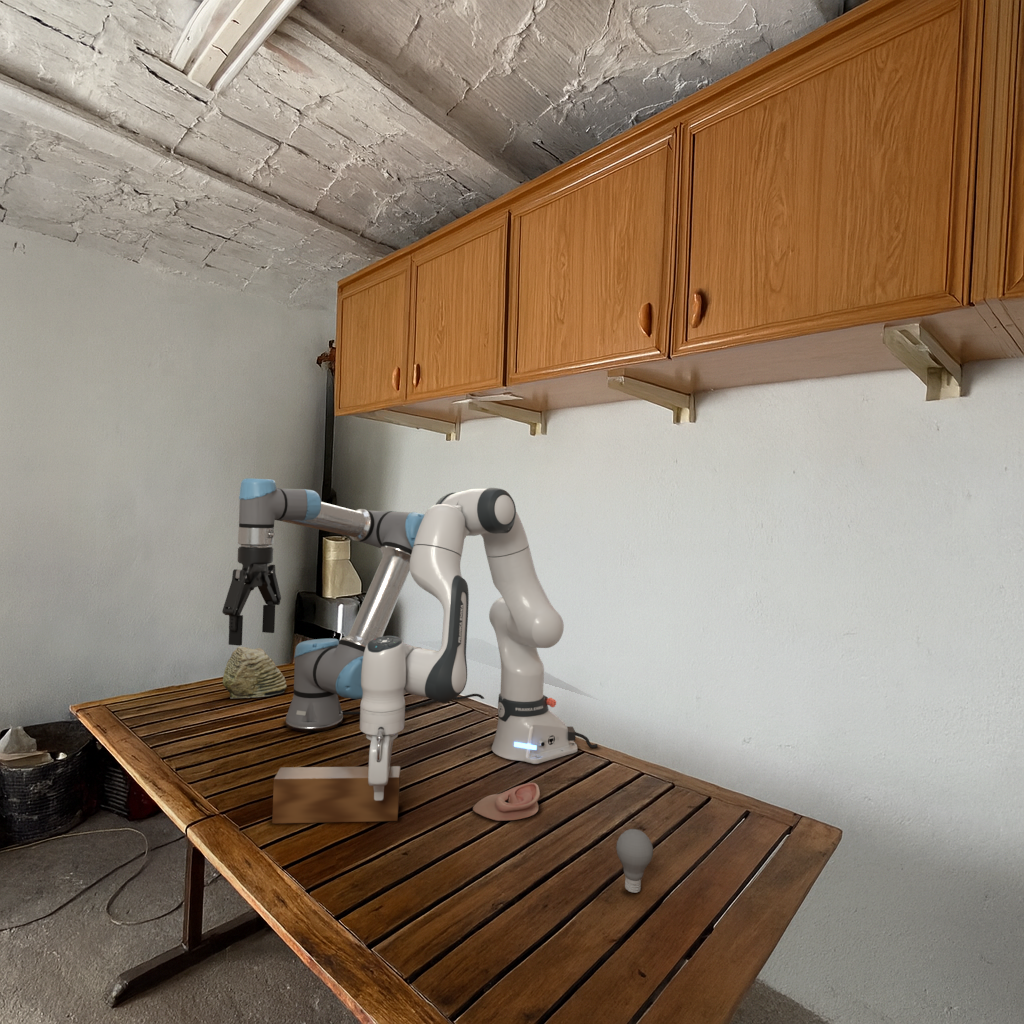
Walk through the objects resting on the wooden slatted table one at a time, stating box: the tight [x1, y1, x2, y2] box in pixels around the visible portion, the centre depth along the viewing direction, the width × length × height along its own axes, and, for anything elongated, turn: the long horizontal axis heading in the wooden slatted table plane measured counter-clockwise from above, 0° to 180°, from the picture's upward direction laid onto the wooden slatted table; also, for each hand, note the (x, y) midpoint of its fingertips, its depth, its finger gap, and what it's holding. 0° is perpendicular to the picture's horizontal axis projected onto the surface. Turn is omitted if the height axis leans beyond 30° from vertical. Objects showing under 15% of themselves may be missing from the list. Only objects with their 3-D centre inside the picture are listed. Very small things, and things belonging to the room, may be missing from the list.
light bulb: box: [615, 828, 654, 894], centre depth 106 cm, size 6×6×10 cm
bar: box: [271, 765, 401, 825], centre depth 126 cm, size 24×5×9 cm, turn 97°
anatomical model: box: [472, 782, 541, 822], centre depth 132 cm, size 13×4×12 cm
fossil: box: [222, 646, 288, 699], centre depth 198 cm, size 9×18×15 cm, turn 132°
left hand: (252, 638), depth 145 cm, fingers open, 13 cm apart
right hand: (380, 787), depth 127 cm, fingers open, 8 cm apart
